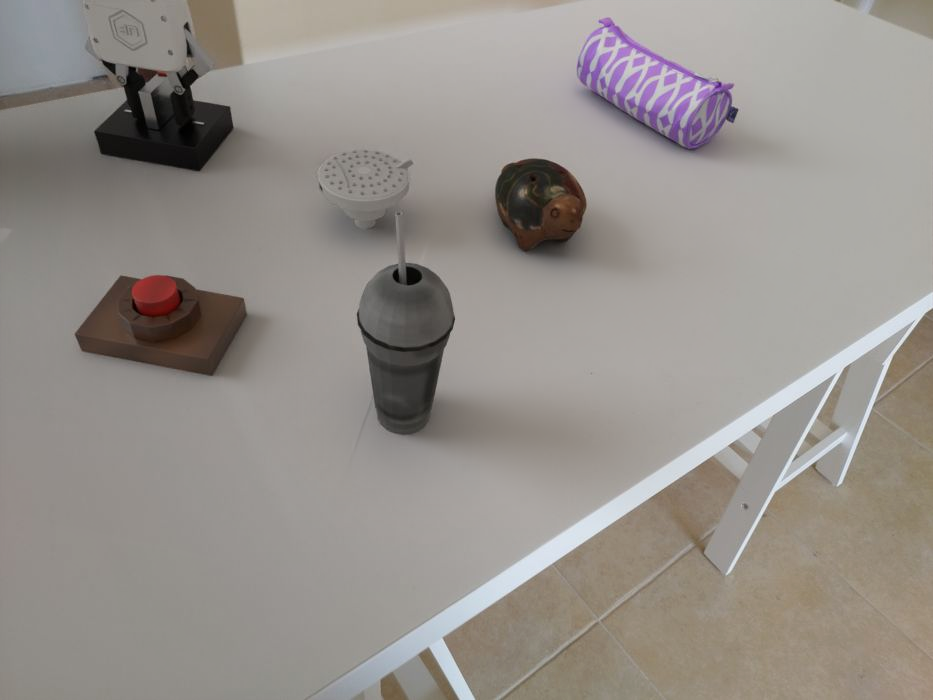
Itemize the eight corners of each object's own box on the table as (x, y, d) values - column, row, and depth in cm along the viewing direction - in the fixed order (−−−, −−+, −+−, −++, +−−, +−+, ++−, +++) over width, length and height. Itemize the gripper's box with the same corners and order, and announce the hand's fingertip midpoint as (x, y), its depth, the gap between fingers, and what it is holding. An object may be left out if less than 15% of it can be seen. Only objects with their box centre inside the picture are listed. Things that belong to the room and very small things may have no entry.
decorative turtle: (534, 282, 76) (539, 217, 70) (467, 209, 86) (467, 146, 80) (611, 256, 79) (623, 192, 74) (538, 189, 89) (543, 127, 83)
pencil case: (728, 142, 99) (753, 75, 93) (687, 163, 95) (711, 94, 88) (605, 76, 110) (619, 12, 103) (562, 92, 105) (575, 26, 98)
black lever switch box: (101, 154, 86) (93, 129, 83) (142, 112, 92) (136, 89, 90) (199, 171, 85) (194, 147, 82) (233, 128, 92) (230, 104, 89)
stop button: (129, 313, 63) (123, 298, 62) (148, 286, 66) (144, 271, 65) (168, 321, 63) (164, 306, 62) (187, 293, 66) (183, 278, 64)
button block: (81, 351, 65) (67, 318, 62) (126, 292, 70) (115, 259, 67) (212, 376, 64) (204, 344, 61) (247, 314, 69) (241, 283, 67)
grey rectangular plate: (159, 130, 84) (149, 91, 81) (147, 128, 85) (137, 89, 81) (180, 107, 88) (172, 69, 85) (169, 105, 88) (160, 67, 85)
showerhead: (427, 184, 74) (329, 198, 71) (424, 241, 79) (332, 256, 76) (399, 135, 80) (308, 146, 77) (398, 192, 85) (312, 204, 82)
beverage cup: (390, 462, 59) (392, 272, 45) (344, 403, 63) (332, 210, 49) (462, 423, 63) (486, 234, 48) (415, 369, 66) (423, 179, 52)
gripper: (21, -52, 71) (78, 120, 84) (189, -26, 70) (220, 144, 83) (64, -76, 76) (111, 90, 89) (221, -52, 75) (245, 113, 88)
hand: (163, 115), depth 86 cm, fingers open, 4 cm apart
